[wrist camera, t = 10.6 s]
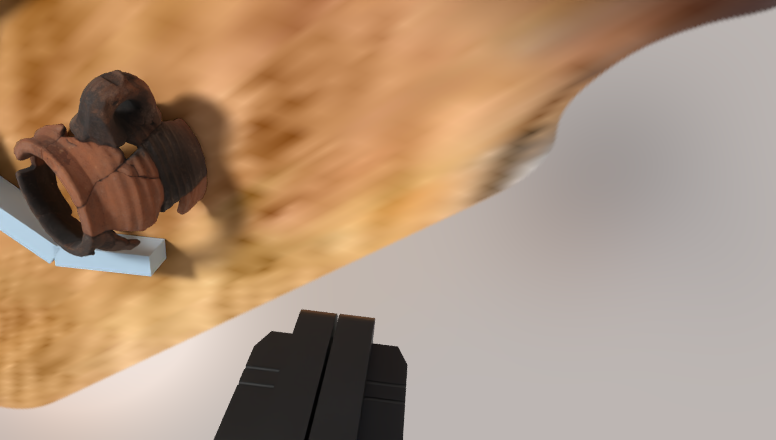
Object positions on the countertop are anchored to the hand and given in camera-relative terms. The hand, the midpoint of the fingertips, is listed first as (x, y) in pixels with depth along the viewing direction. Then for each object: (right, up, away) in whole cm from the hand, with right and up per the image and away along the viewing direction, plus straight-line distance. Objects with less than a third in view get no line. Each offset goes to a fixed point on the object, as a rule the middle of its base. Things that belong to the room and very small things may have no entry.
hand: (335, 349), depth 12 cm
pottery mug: (-15, +7, +26) cm, 31 cm away
